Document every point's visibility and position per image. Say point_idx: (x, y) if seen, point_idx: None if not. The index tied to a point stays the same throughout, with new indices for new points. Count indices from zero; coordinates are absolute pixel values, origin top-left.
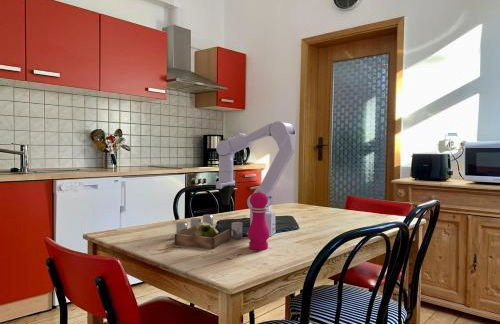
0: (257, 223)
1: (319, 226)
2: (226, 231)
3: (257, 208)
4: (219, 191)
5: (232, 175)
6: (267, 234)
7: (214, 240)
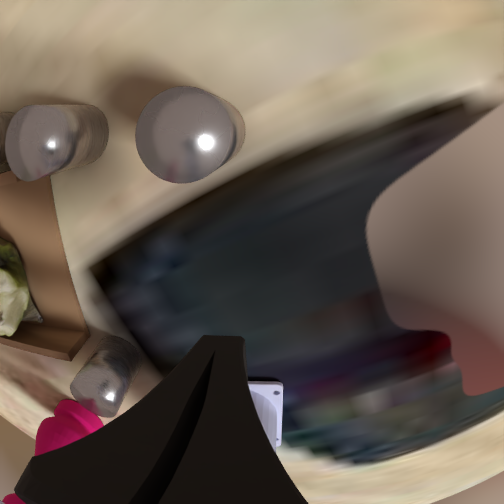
0: None
1: (404, 479)
2: (42, 354)
3: None
4: (69, 452)
5: None
6: None
7: None
